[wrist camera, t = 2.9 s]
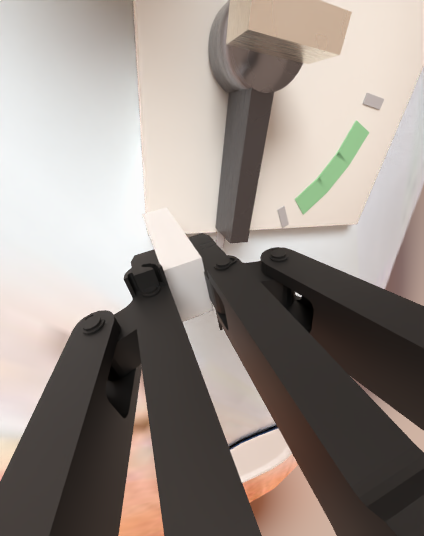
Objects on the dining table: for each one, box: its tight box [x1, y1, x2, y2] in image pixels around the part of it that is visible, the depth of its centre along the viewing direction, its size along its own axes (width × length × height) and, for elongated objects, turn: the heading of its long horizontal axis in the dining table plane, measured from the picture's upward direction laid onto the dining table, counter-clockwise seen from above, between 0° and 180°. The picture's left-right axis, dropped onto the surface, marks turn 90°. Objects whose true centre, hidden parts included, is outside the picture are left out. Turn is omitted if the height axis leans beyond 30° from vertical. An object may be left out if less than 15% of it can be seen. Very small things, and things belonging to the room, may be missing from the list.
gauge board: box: [133, 0, 424, 248], centre depth 18 cm, size 18×22×2 cm
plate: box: [230, 427, 292, 483], centre depth 56 cm, size 25×25×2 cm
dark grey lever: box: [208, 0, 352, 243], centre depth 14 cm, size 13×5×5 cm, turn 175°
